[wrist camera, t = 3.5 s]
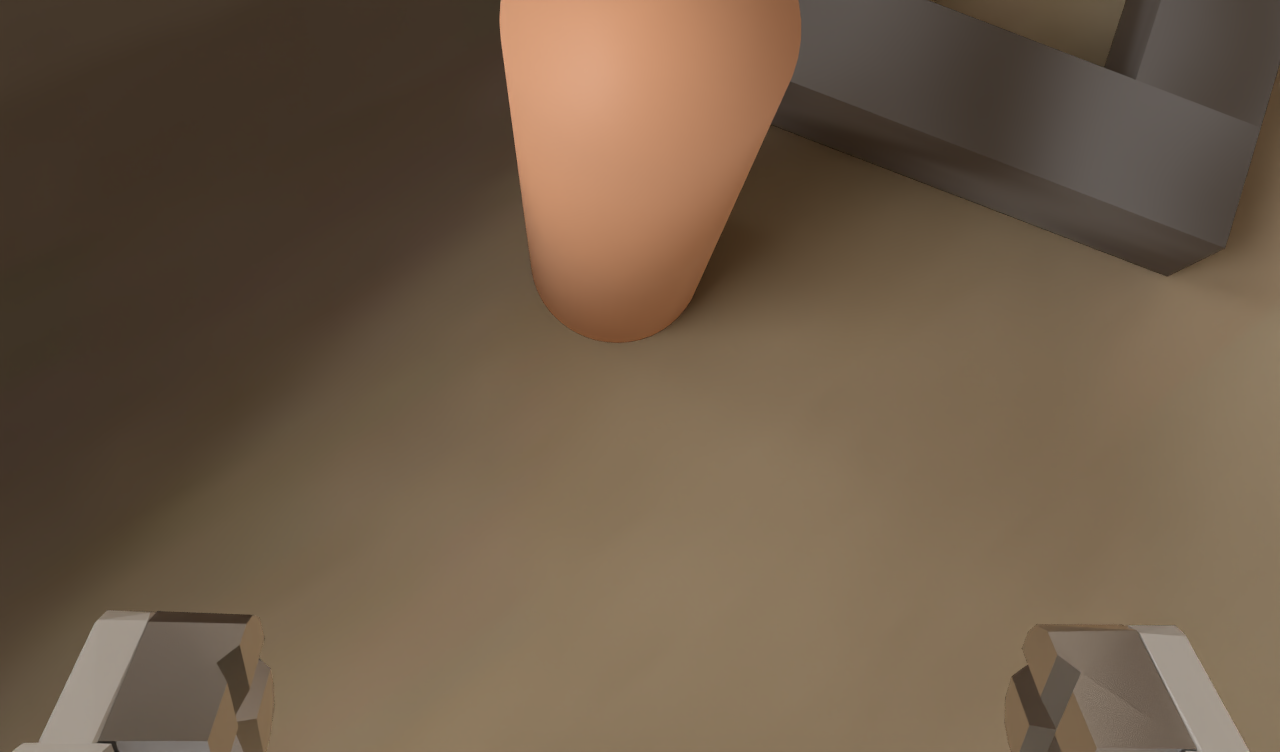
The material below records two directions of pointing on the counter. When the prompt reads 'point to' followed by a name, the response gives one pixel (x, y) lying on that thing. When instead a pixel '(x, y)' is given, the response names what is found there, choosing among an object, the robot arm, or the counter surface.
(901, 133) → the brown wooden tall frame
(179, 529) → the counter surface
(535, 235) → the peg
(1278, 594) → the counter surface
